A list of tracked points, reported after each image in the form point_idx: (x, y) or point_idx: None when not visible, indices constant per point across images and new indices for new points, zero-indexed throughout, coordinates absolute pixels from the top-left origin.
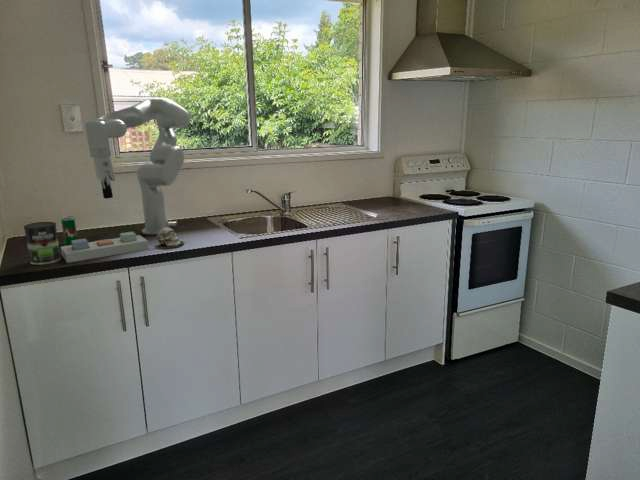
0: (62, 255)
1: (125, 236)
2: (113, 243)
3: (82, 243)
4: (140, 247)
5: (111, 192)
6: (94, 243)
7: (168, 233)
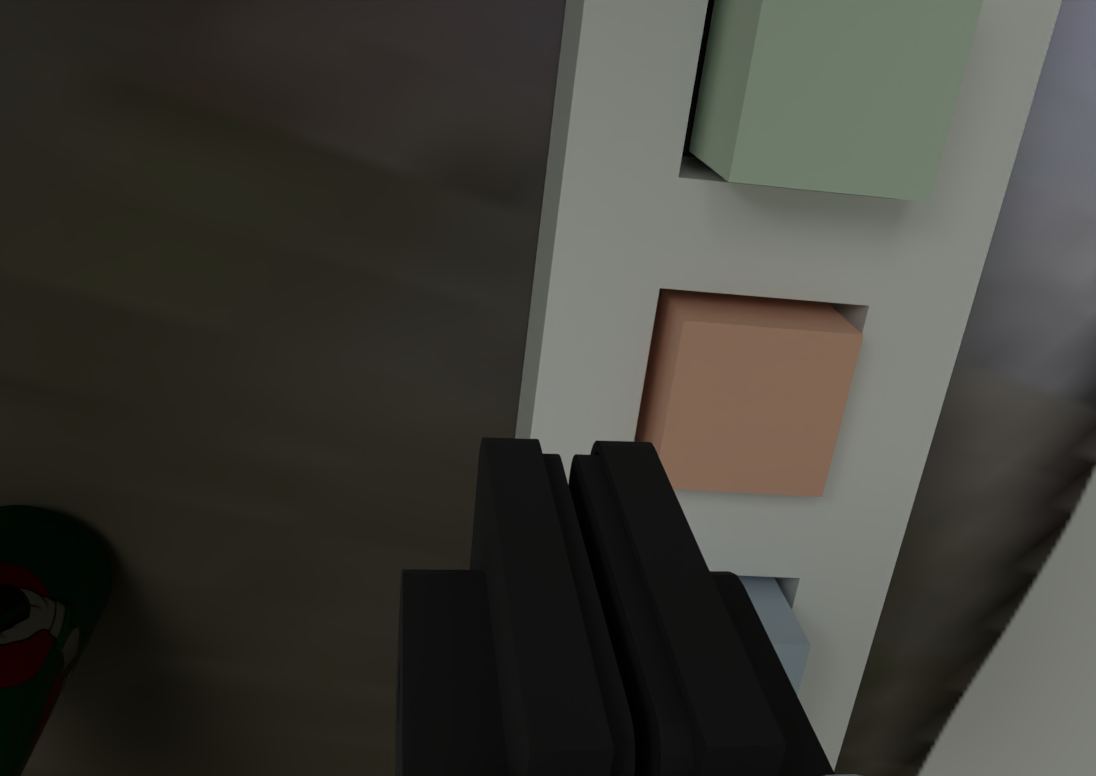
0: None
1: (931, 161)
2: (775, 293)
3: None
4: None
5: (695, 583)
6: None
7: None
